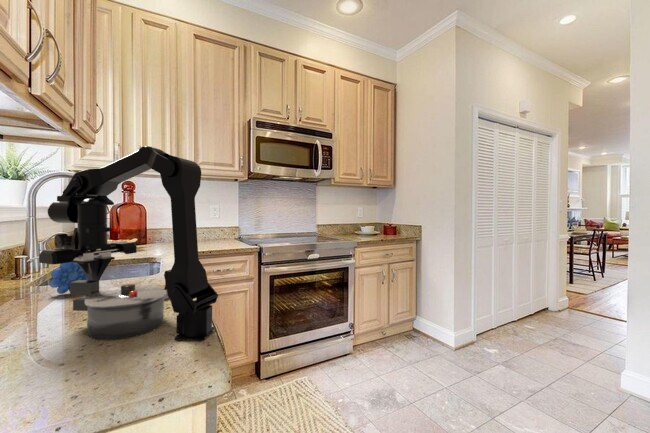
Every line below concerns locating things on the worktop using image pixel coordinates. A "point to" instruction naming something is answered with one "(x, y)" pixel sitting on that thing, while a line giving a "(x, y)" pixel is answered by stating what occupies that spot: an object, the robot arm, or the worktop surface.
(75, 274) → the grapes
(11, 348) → the worktop surface
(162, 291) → the cooker lid
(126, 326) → the cooker pot
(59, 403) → the worktop surface
